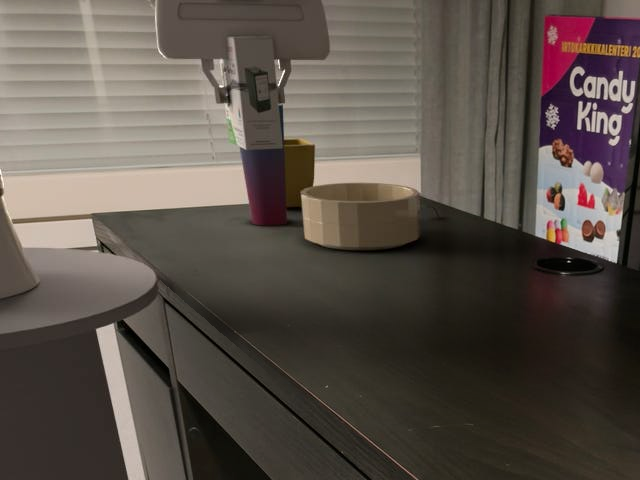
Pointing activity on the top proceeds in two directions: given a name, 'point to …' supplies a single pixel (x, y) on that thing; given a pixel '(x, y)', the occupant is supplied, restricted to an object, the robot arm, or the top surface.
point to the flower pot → (298, 169)
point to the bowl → (360, 215)
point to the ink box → (251, 93)
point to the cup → (266, 182)
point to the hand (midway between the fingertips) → (251, 103)
